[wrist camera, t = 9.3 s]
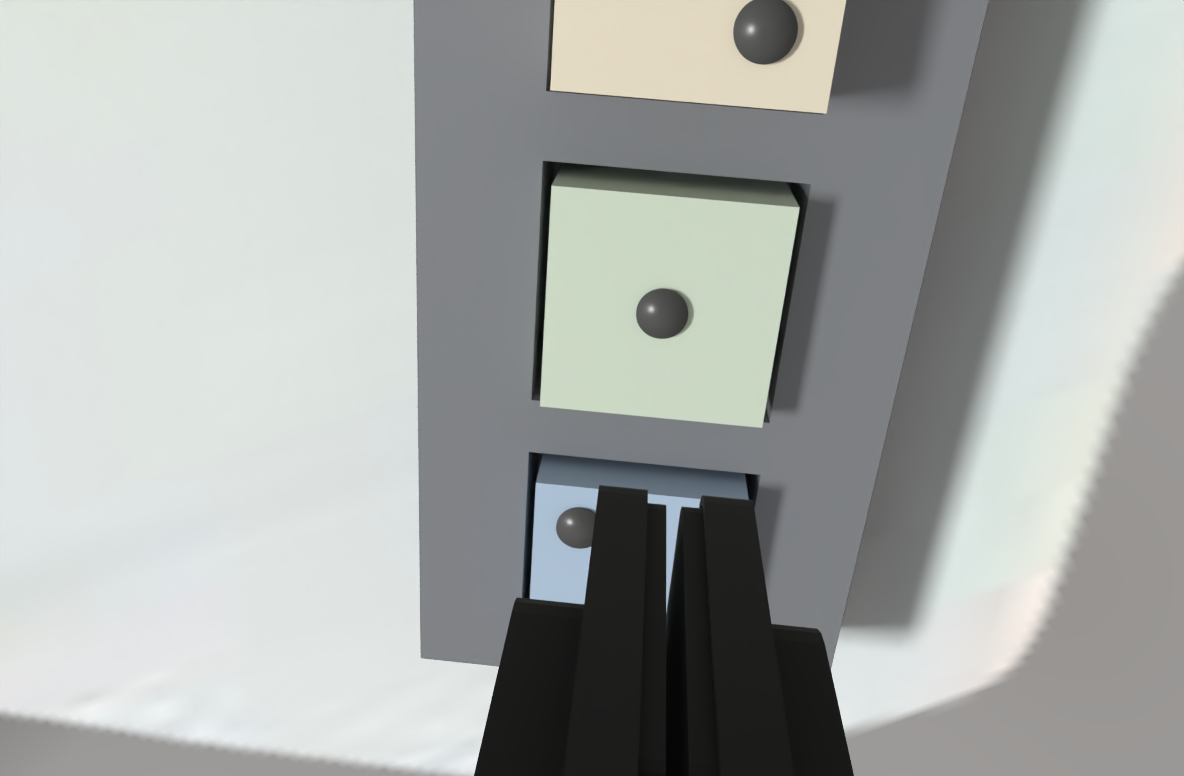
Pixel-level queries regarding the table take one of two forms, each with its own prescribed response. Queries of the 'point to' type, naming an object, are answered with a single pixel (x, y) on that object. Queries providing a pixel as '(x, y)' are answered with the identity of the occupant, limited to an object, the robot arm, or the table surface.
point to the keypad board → (808, 321)
